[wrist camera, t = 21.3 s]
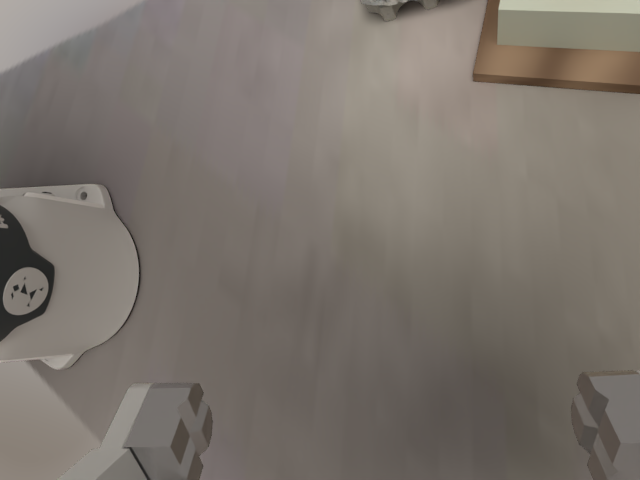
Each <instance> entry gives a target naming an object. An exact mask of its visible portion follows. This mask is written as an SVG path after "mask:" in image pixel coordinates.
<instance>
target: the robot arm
mask: <svg viewBox="0 0 640 480" xmlns="http://www.w3.org/2000/svg"><path fill="white" fill-rule="evenodd" d="M86 195H87V198H86ZM138 282H139V264H138V257H137V252H136V248H135V245H134V242H133V240H132V238H131V236H130V234H129V232H128V230H127V229H126V227H125V226H124V224H123V223H122V222H121V221H120V219H119V218H118V217H117V215H116V214H115V212H114V210H113V206H112V202H111V198H110V195H109V193H108V191H107V189H106V187H104V186H103V185H99V184H79V185H60V186H42V187H23V188H5V189H0V363H4V362H15V361H26V360H36V359H40V360H41V361H43V362H44V363H45V364H47V365H48V366H50V367H51V368H53V369H56V370H59V369H67V368H69V367H71V366H72V365H73V364H74V363H75V362H76V361H77V360H78V358H79V357H80V356H81V355H82V354H83V353H84V352H85V351H87V350H88V349H90V348H93V347H95V346H97V345H100V344H102V343H103V342H105V341H107V340H108V339H109V338H111V337H112V336H113V335H114V334H115V333H116V332H117V331H118V330H119V329H120V328H121V326H122V325H123V324H124V322H125V321H126V319H127V317H128V315H129V314H130V312H131V309H132V307H133V304H134V301H135V298H136V294H137V289H138ZM577 386H578V388H579V391H580V393H579V394H578V395H577V396H575V397H574V398H573V401H572V406H571V418H572V425H573V429H574V433H575V435H576V438H577V441H578V443H579V445H580V446H582V447H583V448H584V449H585V450H586V451H588V452H589V453H590V457H589V461H588V464H587V466H588V468H589V471H590V473H591V476H592V478H593V480H640V371H633V370H628V371H602V372H582V373H581V374H580V375H579V378H578V381H577ZM203 393H204V392H203V390H202V388H201V386H200V383H134V384H133V385H132V386H131V387H130V388H129V389H128V390H127V392H126V394H125V396H124V398H123V400H122V402H121V404H120V406H119V408H118V410H117V412H116V415H115V417H114V419H113V421H112V423H111V425H110V427H109V429H108V431H107V433H106V435H105V437H104V439H103V441H102V444H101V446H100V448H99V449H92V450H91V451H90V452H88V453H87V454H86V455H85V456H84V457H83V458H81V459H80V460H79V461H78V462H77V463H76V464H74V465H73V466H72V467H71V468H70V469H69V470H67V471H66V472H65V473H64V474H63V475H62V476H60V477H59V478H58V479H57V480H199V479H200V476H201V472H202V469H203V464H202V462H201V459H200V457H199V456H200V455H201V454H202V453H203V452H204V451H205V450H206V449H207V448H208V447H209V444H210V440H211V436H212V425H213V420H212V413H211V410H210V407H209V405H208V404H206V403H205V402H203V401H202V397H203Z"/></svg>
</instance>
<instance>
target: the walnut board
mask: <svg viewBox="0 0 640 480" xmlns="http://www.w3.org/2000/svg"><path fill="white" fill-rule="evenodd" d="M499 4H500V0H488V3H487V8H486V13H485V18H484V23H483V27H482V32H481V37H480V42H479V47H478V52H477V57H476V62H475V67H474V72H473V79H474V81H478V82H492V83H505V84H518V85H531V86H544V87H557V88H570V89H583V90H596V91H610V92H623V93H636V94H640V52H629V51H609V50H590V49H570V48H551V47H531V46H512V45H497V34H498V9H499Z"/></svg>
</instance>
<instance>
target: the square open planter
mask: <svg viewBox="0 0 640 480" xmlns="http://www.w3.org/2000/svg"><path fill="white" fill-rule="evenodd" d="M497 45H512V46H531V47H551V48H570V49H590V50H609V51H629V52H640V0H500V4H499V9H498V34H497Z"/></svg>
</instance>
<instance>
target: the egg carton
mask: <svg viewBox="0 0 640 480" xmlns="http://www.w3.org/2000/svg"><path fill="white" fill-rule="evenodd" d="M409 1H417V2H419V3H421V4H422V5H423V7H424V9H425V10H428V9H431V8H435V7H437V5H438V1H439V0H376V1H374V0H361V3H362V4H366V6H367V8H368V10H369V13H373V12H374V13H378V14H380V15H381V16H382V17H383V19H384V21H385V22H387V21H390V20H394V19H396V17H397V12H398V10H399V8H400V7H401V6H402V5H403V4H404V3H406V2H409Z"/></svg>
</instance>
